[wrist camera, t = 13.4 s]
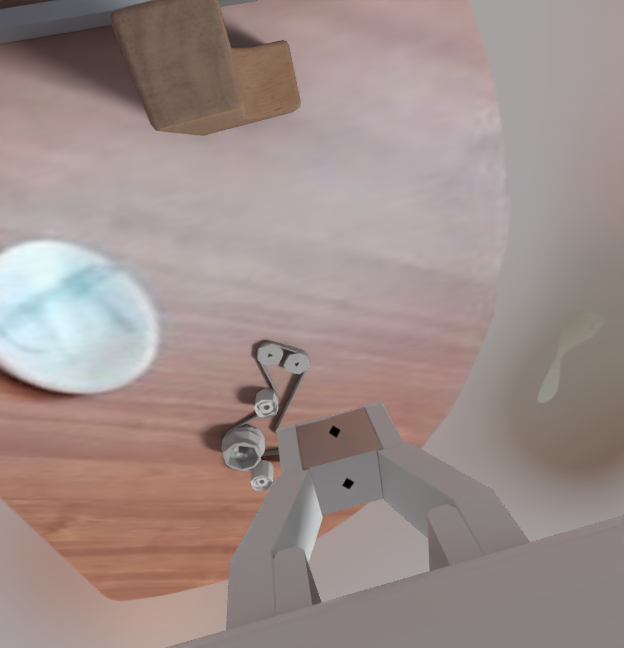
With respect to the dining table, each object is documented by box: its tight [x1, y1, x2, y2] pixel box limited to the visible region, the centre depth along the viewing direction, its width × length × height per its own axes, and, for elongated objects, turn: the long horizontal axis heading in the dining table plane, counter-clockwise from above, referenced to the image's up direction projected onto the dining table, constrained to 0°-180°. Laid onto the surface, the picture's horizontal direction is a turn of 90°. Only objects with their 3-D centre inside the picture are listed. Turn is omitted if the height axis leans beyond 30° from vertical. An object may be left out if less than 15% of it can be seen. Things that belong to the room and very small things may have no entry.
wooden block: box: [111, 0, 301, 135], centre depth 23 cm, size 9×4×18 cm, turn 103°
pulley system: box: [221, 341, 309, 491], centre depth 48 cm, size 27×5×15 cm
